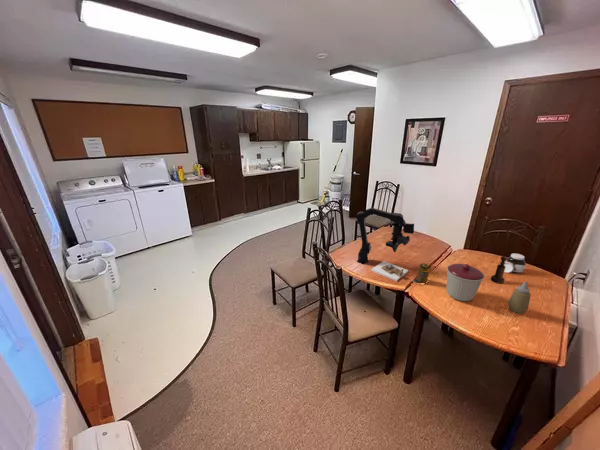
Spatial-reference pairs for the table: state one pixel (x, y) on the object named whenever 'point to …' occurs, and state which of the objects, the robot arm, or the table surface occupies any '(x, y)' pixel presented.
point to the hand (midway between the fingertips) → (394, 251)
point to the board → (392, 276)
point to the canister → (463, 281)
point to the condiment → (422, 274)
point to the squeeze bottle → (520, 299)
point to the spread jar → (515, 263)
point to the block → (393, 270)
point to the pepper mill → (499, 272)
